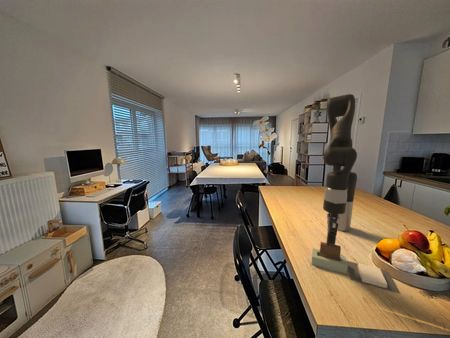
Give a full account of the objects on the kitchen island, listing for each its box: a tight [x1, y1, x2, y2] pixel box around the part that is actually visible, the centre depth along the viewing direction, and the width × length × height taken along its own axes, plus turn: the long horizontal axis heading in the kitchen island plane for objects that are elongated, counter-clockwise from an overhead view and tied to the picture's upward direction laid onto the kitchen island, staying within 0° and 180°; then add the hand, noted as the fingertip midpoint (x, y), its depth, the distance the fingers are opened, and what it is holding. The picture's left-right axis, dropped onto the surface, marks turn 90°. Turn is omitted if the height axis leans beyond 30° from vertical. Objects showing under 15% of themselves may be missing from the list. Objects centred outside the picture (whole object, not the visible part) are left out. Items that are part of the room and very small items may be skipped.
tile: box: [357, 262, 387, 288], centre depth 70 cm, size 2×7×9 cm
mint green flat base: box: [310, 247, 348, 275], centre depth 77 cm, size 7×12×4 cm, turn 64°
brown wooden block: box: [319, 228, 342, 261], centre depth 76 cm, size 2×7×15 cm, turn 64°
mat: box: [347, 260, 401, 294], centre depth 71 cm, size 12×14×1 cm
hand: (330, 240), depth 75 cm, fingers open, 3 cm apart
